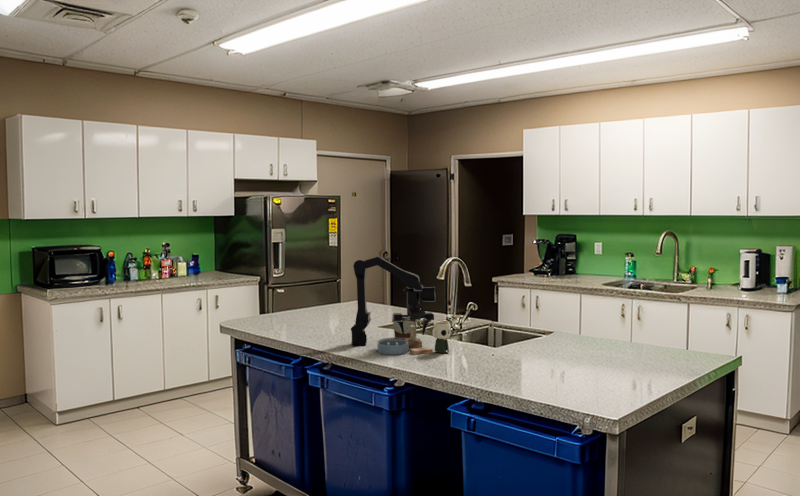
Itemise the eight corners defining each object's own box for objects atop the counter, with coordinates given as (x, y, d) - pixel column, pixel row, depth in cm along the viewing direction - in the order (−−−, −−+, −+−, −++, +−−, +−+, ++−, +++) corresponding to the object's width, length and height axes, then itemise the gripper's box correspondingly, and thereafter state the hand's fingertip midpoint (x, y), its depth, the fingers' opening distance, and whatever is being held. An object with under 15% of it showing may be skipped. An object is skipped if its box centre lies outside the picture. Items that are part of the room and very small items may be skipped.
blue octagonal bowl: (379, 355, 261) (379, 346, 261) (376, 348, 274) (376, 340, 274) (409, 354, 263) (409, 345, 263) (405, 347, 276) (405, 339, 276)
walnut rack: (407, 347, 277) (407, 342, 277) (405, 343, 285) (405, 338, 284) (421, 347, 278) (421, 341, 277) (419, 343, 285) (419, 338, 285)
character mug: (438, 355, 260) (438, 325, 260) (427, 353, 266) (427, 323, 265) (456, 351, 268) (456, 322, 267) (444, 349, 273) (444, 320, 272)
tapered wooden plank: (414, 355, 262) (414, 351, 262) (409, 353, 267) (409, 349, 266) (432, 353, 266) (432, 349, 266) (427, 351, 270) (427, 347, 270)
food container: (417, 336, 303) (417, 316, 303) (417, 338, 297) (416, 318, 297) (393, 335, 304) (393, 315, 304) (391, 338, 298) (391, 317, 298)
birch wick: (412, 346, 279) (411, 327, 278) (410, 344, 283) (410, 325, 283) (416, 346, 279) (416, 327, 278) (414, 344, 283) (414, 325, 283)
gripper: (395, 304, 271) (395, 339, 272) (436, 303, 273) (436, 337, 274) (392, 301, 282) (392, 334, 283) (431, 300, 284) (431, 333, 285)
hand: (413, 335), depth 281 cm, fingers open, 9 cm apart
